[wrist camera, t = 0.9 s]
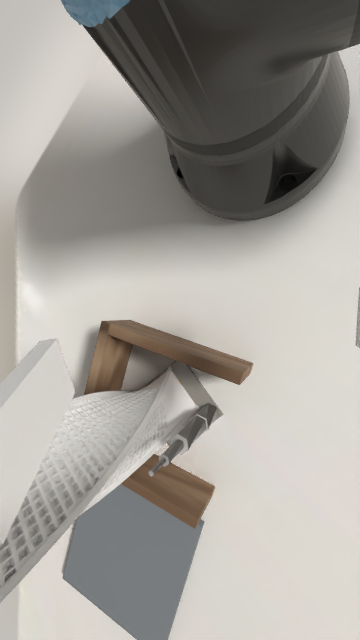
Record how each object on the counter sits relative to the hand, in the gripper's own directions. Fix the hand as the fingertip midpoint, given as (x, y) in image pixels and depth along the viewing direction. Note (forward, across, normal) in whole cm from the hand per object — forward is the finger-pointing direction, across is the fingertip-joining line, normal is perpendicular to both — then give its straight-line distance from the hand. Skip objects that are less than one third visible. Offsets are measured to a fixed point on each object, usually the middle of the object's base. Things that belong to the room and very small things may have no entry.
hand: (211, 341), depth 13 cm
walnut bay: (+14, -4, -13) cm, 20 cm away
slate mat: (+11, -11, -29) cm, 33 cm away
